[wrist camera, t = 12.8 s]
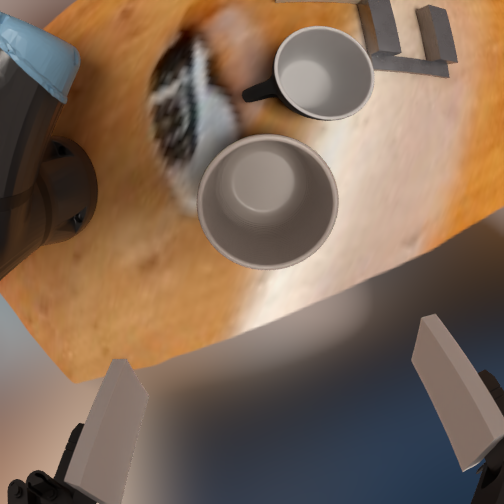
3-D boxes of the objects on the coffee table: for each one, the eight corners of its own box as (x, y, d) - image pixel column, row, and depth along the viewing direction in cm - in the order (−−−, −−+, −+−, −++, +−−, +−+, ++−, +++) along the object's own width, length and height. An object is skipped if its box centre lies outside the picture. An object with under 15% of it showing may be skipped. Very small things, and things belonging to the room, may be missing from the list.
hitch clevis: (370, 70, 28) (381, 66, 25) (356, 2, 24) (365, -8, 21) (445, 78, 28) (460, 76, 25) (432, 15, 24) (445, 9, 20)
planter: (239, 113, 31) (233, 109, 22) (331, 160, 34) (363, 177, 24) (196, 204, 36) (176, 238, 26) (285, 244, 38) (296, 289, 29)
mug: (328, 44, 27) (356, 19, 18) (351, 111, 31) (386, 110, 22) (231, 67, 29) (223, 47, 20) (256, 136, 33) (258, 142, 23)
